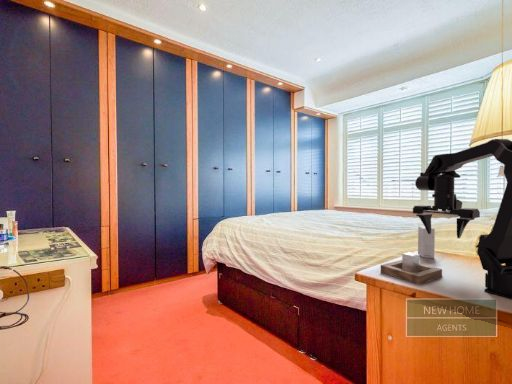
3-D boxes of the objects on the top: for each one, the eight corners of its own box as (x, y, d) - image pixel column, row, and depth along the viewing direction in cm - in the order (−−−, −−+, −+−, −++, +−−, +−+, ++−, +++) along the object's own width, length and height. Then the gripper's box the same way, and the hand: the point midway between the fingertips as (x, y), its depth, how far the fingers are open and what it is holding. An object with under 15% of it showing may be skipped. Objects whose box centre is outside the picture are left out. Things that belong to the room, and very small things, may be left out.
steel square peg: (419, 275, 90) (419, 254, 90) (412, 277, 89) (412, 255, 88) (408, 272, 93) (408, 252, 93) (402, 273, 92) (402, 253, 92)
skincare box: (434, 258, 109) (435, 228, 109) (423, 257, 110) (423, 228, 110) (428, 254, 115) (428, 226, 115) (417, 253, 116) (417, 226, 116)
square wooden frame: (441, 276, 88) (442, 269, 88) (418, 284, 82) (418, 276, 82) (403, 266, 100) (403, 259, 100) (380, 272, 94) (380, 265, 94)
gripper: (487, 191, 90) (486, 237, 91) (428, 190, 106) (427, 229, 107) (472, 192, 84) (471, 242, 85) (411, 190, 100) (411, 232, 101)
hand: (443, 235), depth 95 cm, fingers open, 9 cm apart
